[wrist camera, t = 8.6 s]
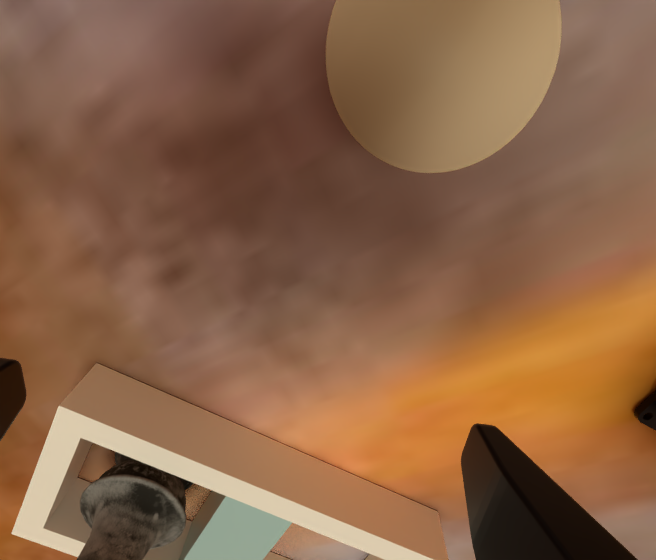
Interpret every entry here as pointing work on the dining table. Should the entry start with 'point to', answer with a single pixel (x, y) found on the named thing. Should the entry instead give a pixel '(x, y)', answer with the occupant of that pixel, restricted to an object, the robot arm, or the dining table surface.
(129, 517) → the salt shaker
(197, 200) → the dining table surface
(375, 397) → the dining table surface
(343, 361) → the dining table surface
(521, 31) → the wooden peg
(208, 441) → the housing
